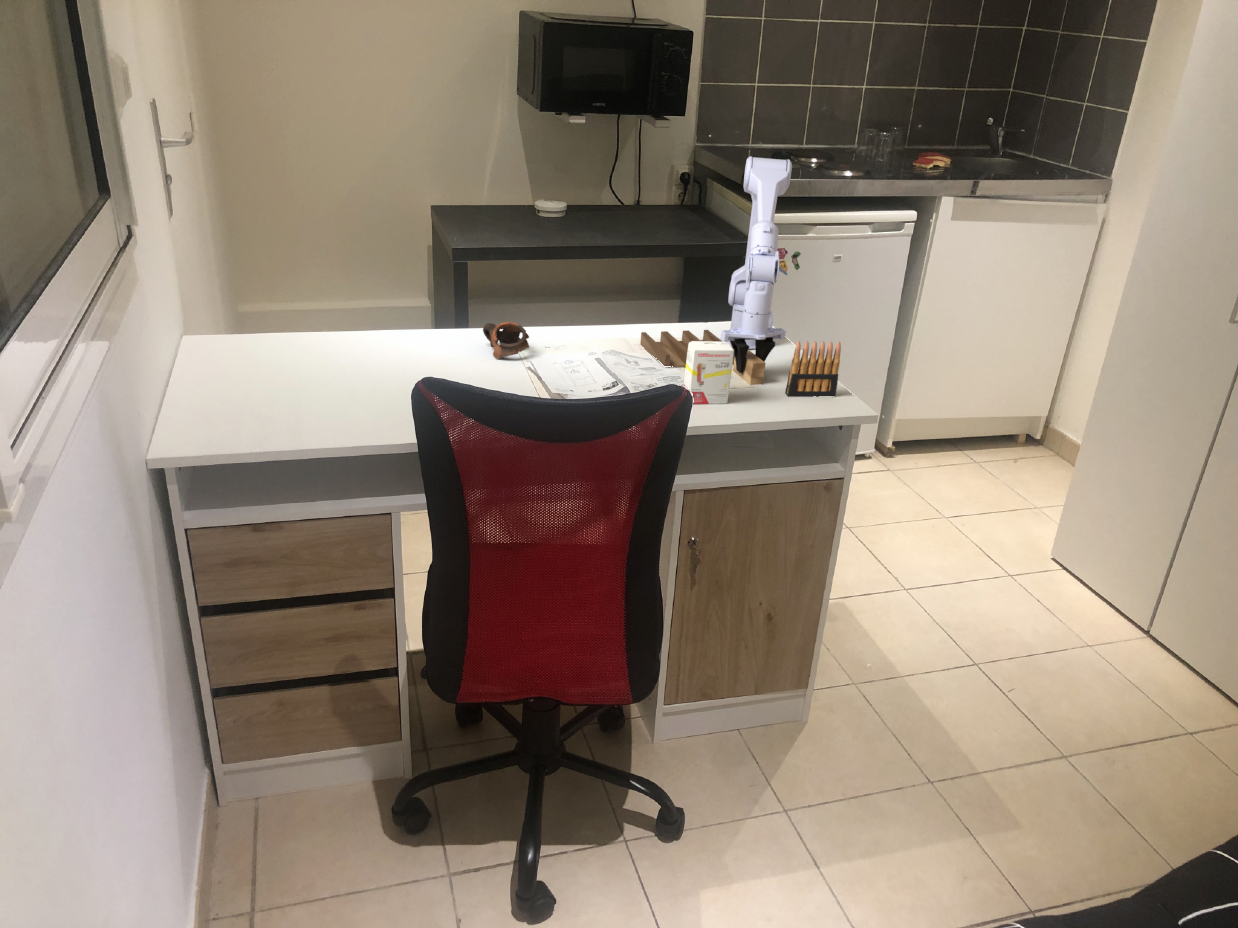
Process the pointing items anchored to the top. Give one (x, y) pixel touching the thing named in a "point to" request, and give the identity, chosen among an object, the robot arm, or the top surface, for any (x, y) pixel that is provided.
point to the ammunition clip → (814, 372)
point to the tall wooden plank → (752, 369)
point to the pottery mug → (506, 338)
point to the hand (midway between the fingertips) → (748, 371)
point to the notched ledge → (673, 347)
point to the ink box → (709, 371)
